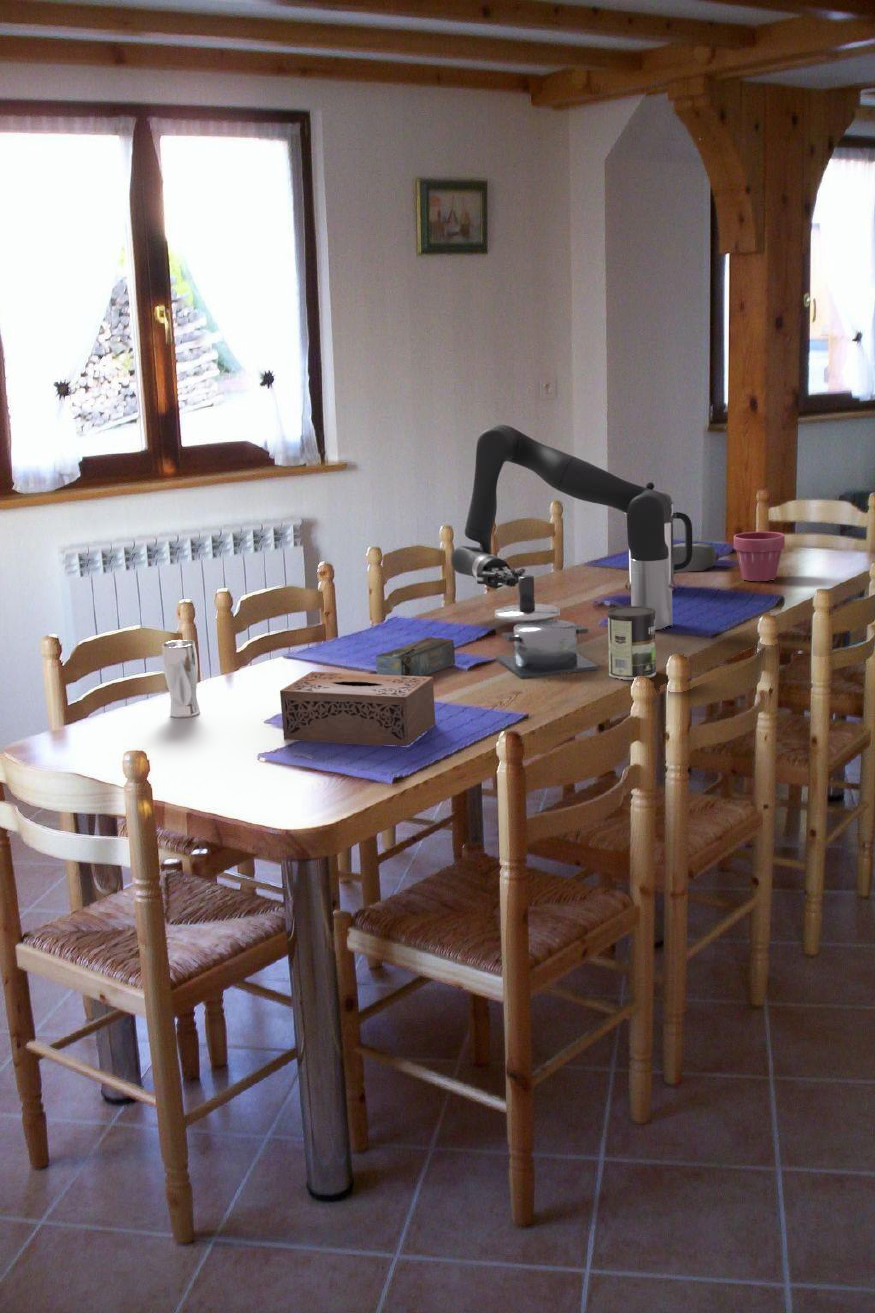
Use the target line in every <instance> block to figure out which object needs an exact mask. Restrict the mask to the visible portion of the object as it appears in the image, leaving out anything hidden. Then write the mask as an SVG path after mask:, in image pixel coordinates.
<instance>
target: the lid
mask: <svg viewBox="0 0 875 1313" xmlns="http://www.w3.org/2000/svg"><path fill="white" fill-rule="evenodd" d="M517 584H518V604H512V605H507V606H506V605H505V606H503V607H499V608H496V609H495V610H494V617H495V618H496V619H497V620H500V621H503V622H504V621H505V622H510V623H511V622H512V623H523V622H536V621H544V620H554V619H556V618H557V617H559V616H560V615H561V613H560V612H561V610H560V608H559V607H558V606H555V605H552V604H544V603H536V600H535V599H536V598H535V597H536V596H535V576H534V575H531V574H530V575H529V574H525V575H523V576H519V577H518V583H517Z"/></svg>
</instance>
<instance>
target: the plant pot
mask: <svg viewBox="0 0 875 1313" xmlns="http://www.w3.org/2000/svg"><path fill="white" fill-rule="evenodd" d="M785 542H786V541H785V534H784V533H782V532H777V531H776V532H775V531H749V532H748V531H747V532H741V533H737V534H734V535H733V549H734V550H735V551H736V554H737V560H738V564H739V569H740V573H741V578H742V580H743V579H746V580H754V581H765V580H771V579H774V578H776V579H777V574H778V569H779V564H780V558H781V555H782V554H781V553H782V550H783V549H785V545H786V543H785Z"/></svg>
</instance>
